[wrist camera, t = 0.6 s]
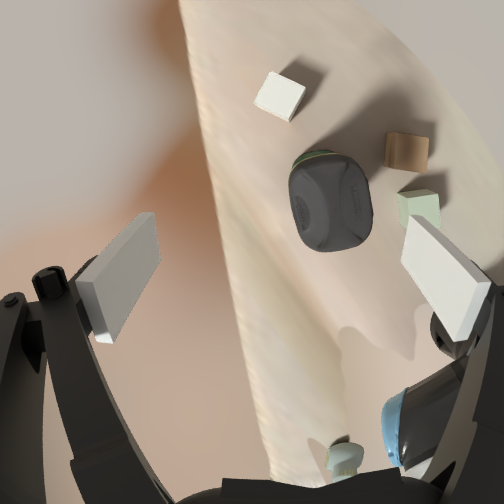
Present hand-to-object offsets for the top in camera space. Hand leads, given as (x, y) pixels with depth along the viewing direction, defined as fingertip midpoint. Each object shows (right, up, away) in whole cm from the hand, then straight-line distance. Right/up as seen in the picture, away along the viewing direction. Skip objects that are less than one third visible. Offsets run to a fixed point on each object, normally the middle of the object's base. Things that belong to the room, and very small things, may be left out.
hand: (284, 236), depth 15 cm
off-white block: (+3, +21, +25) cm, 33 cm away
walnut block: (+20, +14, +25) cm, 35 cm away
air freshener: (+21, -49, +47) cm, 71 cm away
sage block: (+23, +6, +28) cm, 36 cm away
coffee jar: (+8, +9, +29) cm, 31 cm away
